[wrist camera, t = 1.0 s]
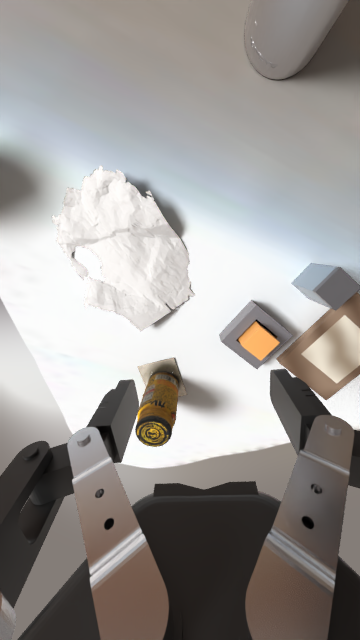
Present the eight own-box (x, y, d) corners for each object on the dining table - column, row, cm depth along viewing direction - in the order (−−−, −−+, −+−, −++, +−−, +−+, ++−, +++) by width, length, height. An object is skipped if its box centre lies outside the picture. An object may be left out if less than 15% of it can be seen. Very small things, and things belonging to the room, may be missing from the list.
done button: (254, 319, 36) (260, 326, 32) (272, 334, 36) (279, 342, 33) (237, 337, 37) (241, 346, 33) (254, 351, 37) (260, 360, 34)
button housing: (251, 300, 36) (256, 304, 34) (285, 328, 38) (293, 335, 35) (219, 334, 39) (221, 341, 36) (252, 360, 40) (257, 369, 37)
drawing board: (350, 290, 35) (357, 292, 34) (397, 334, 37) (406, 338, 35) (276, 358, 40) (279, 363, 38) (321, 395, 41) (326, 400, 40)
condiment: (152, 401, 44) (138, 455, 33) (137, 366, 42) (117, 411, 30) (187, 394, 43) (185, 446, 32) (174, 356, 41) (167, 399, 29)
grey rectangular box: (310, 263, 34) (340, 267, 27) (328, 279, 35) (361, 287, 28) (291, 283, 35) (315, 292, 28) (308, 298, 36) (335, 310, 29)
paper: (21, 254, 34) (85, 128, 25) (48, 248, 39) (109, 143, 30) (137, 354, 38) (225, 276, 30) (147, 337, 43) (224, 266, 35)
